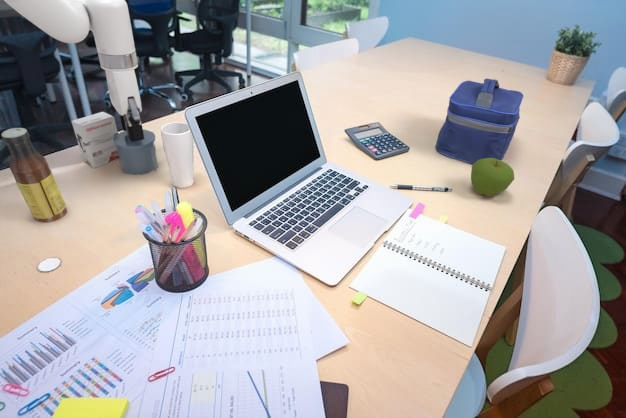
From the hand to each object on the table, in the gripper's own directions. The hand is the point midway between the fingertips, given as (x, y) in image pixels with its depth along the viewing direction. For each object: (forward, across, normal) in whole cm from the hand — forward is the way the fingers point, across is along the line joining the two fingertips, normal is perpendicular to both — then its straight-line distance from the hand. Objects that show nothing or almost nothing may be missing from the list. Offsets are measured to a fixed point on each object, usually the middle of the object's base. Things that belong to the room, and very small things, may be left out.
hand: (133, 134), depth 96 cm
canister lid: (+2, 0, 0) cm, 2 cm away
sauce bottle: (+10, +12, -22) cm, 27 cm away
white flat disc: (+10, +28, -24) cm, 38 cm away
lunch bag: (+10, +33, +97) cm, 103 cm away
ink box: (+10, -8, -7) cm, 14 cm away
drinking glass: (+10, +12, +7) cm, 17 cm away
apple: (+10, +53, +76) cm, 93 cm away
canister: (+10, 0, 0) cm, 10 cm away
